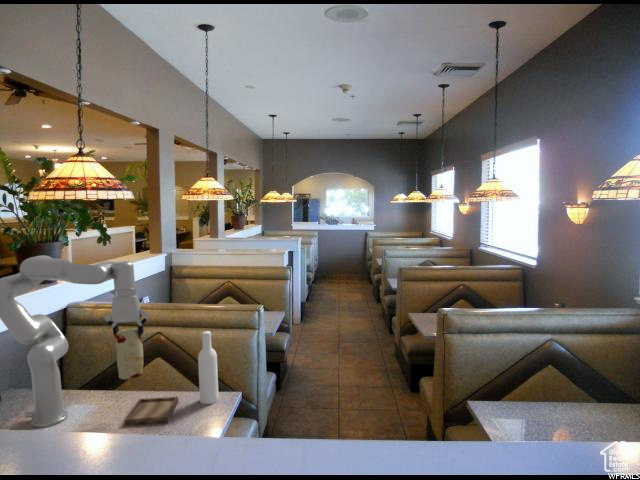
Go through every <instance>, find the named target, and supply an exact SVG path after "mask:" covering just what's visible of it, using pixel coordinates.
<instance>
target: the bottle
mask: <svg viewBox="0 0 640 480" xmlns="http://www.w3.org/2000/svg"><path fill="white" fill-rule="evenodd" d="M201 338H202V340H201V341H202V349H201V350H200V351H199V353H198V356H197V361H198V366H197V367H198V384H199V403H201V404H202V405H212V404H215V403H218V401H219V397H220V396H219V377H218V376H219V375H218V354H217V352H216V350H215V349H214V348H213V347H212V332H211V331H210V330H207V331H206V330H205V331H203V332H202V333H201Z"/></svg>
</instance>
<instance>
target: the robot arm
mask: <svg viewBox="0 0 640 480" xmlns="http://www.w3.org/2000/svg"><path fill="white" fill-rule="evenodd" d="M111 280H113V288H114V289H113V290H111V291H110V294H111V295H114V296H113V297H112V301H111V312H110V313H109V314H107V315H106V316H105V317H104V320H105V322H107V324H108V325H109V326H110V327H111V328H112V334H113V336H114V338H115V339H116V334H117V333H118V332H119V331H120V329H119V328H120V327H119V324H120V323H133V322H134V323H135V322H136V324H137V325H138V326H137V329H138V336H141V337H142V335H143V333H144V331H145V329H144V324H145V323H146V322H147V321H148V319H149V317H150V315H151V314H150V313H149V312H146V311H145V310H143V309H142V308H141V303H140V299H139V295H138V294H137V293H136V291H137V290H136V281H135V280H136V279H135V266H134V263H133V261H129V260H128V261H127V260H124V261H123V260H122V261H108V260H107V261H101V262H98V263H95V264H79V263H73V262H71V261H70V259H68V258H54V257H51V256H49V255H45V254H44V255H36V256H32V257H29V258H26V259H24V260H23V261H22V262H21V263H20V265H19V272H18V273H16V274H12V275H8V276H3V277H1V278H0V320H1V321H2V323H3V325H4V326H5V327H6V328H7V329H8V331H9V332H10V334H11V335H12V336H13V338H14V339H15V340H16V341H17V342H18V343H20V344H21V345H29V344H32V343H34V342H36V341H37V342H38V343H36V344H35V345H34V346H32V348H31V349H30V350H29V352H28V353H27V364H28V367H29V370H30V377H31V385H32V398H33V409H27V410H25V411H24V418H31V420H30V421H29V423H30V425H31V427H34V428H45V427H51V426H54V425H56V424H59V423H61V422H63V421H64V420H66V419H67V417H68V415H69V414H68V410H65V409H63V406H64V405H63V395H62V381H61V380H62V379H61V372H60V368H59V366H58V363H57V361H58V360H59V359H61V358H62V357H64V355H66V353H67V352H68V350H69V342H68V341H69V340H67V337H65V335H64V333H63V332H62V331H61V330H60V328H59V327H58V325H56V324H55V322H54V321H53V320H52V319H51V318H50V317H49V316H47V315H45V314H41V313H40V314H39V313H38V314H37V313H36V314H33V315H32V314H30V313H29V311H28V310H27V309H26V307H25V306H24V304H23V305H22V303H20V302H19V301H17V300H16V299H15V298H16V297H20V296H22V295H26V294H27V293H30V292H31V291H32V290H34V289H35V288H36V287H38V286H39V285H40V284H42V282H44V281H59V282H60V281H61V282H66V283H71V284H77V285H101V284H103V283H104V282H108V281H111ZM142 316H144V317H143V318H142Z"/></svg>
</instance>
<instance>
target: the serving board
mask: <svg viewBox="0 0 640 480" xmlns="http://www.w3.org/2000/svg"><path fill="white" fill-rule="evenodd" d="M178 404H179V396H168V397H167V396H165V397H151V398H150V397H149V398H139V399H138V401H137V402H136V403H135V405H134V406H132V409H131V410H130V411H129V413H128V414H127V416H126V417H125V418H124V427H127V426H128V427H129V426H130V425H132V426H143V425H144V426H147V425H160V424H168V423H169V422H170V420H171V418H172V416H173V414H174V412H175V410H176V408H177V406H178Z"/></svg>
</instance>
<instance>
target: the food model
mask: <svg viewBox="0 0 640 480" xmlns="http://www.w3.org/2000/svg"><path fill="white" fill-rule="evenodd" d="M143 347H144V346H143V340H142V335H141V336H138V328H129V329H122V330H119V332H118V333H117V334H116V338H115V351H116V355H115V356H116V365H117V371H118V372H117V373H118V378H119V379H121V380H130V379H136V378H139V377H141V376H142V375H143V370H144V348H143Z"/></svg>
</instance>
